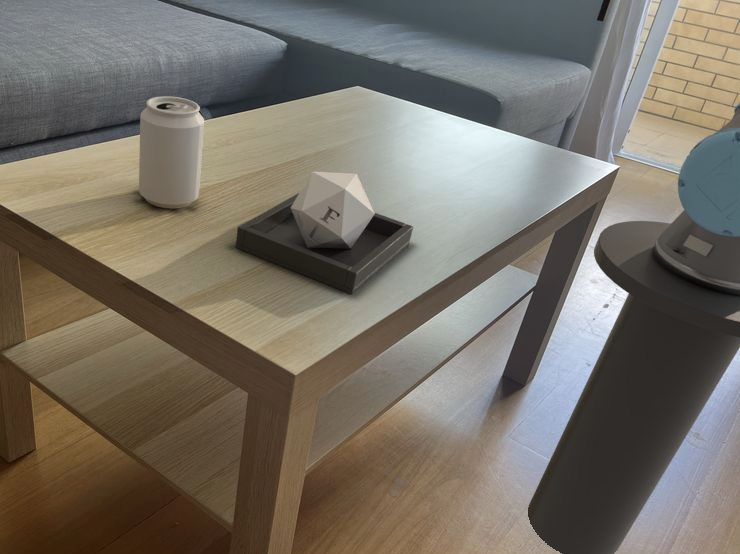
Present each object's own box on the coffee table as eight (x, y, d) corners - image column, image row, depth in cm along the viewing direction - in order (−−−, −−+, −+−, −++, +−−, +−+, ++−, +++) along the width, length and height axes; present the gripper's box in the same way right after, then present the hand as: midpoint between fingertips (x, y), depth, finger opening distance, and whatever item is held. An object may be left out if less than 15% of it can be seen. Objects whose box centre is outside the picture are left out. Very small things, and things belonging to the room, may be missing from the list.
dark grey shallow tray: (408, 245, 89) (413, 226, 87) (351, 294, 77) (356, 273, 76) (303, 207, 94) (306, 188, 93) (235, 247, 82) (237, 226, 81)
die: (271, 237, 86) (291, 195, 77) (309, 185, 89) (332, 139, 80) (331, 277, 86) (358, 240, 77) (366, 223, 89) (396, 182, 80)
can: (160, 181, 95) (164, 89, 88) (209, 197, 93) (217, 103, 86) (126, 199, 89) (127, 101, 82) (178, 217, 87) (183, 117, 80)
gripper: (485, -224, 78) (438, -8, 90) (737, -202, 70) (648, 33, 81) (502, -214, 84) (455, -12, 96) (736, -193, 75) (653, 25, 87)
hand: (544, 9), depth 89 cm, fingers open, 13 cm apart
